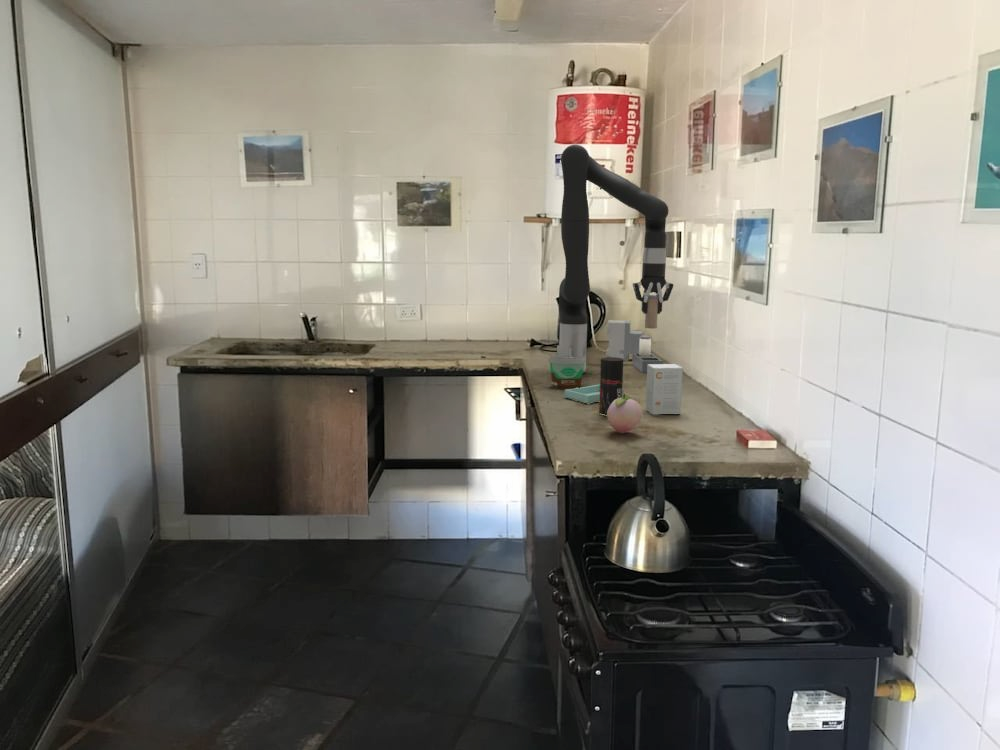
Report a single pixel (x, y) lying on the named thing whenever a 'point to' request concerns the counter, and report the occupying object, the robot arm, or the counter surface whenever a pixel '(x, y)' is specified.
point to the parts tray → (585, 394)
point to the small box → (664, 388)
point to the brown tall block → (651, 312)
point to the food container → (566, 371)
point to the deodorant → (610, 382)
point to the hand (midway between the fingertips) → (651, 313)
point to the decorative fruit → (624, 414)
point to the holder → (644, 355)
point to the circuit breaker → (622, 340)
